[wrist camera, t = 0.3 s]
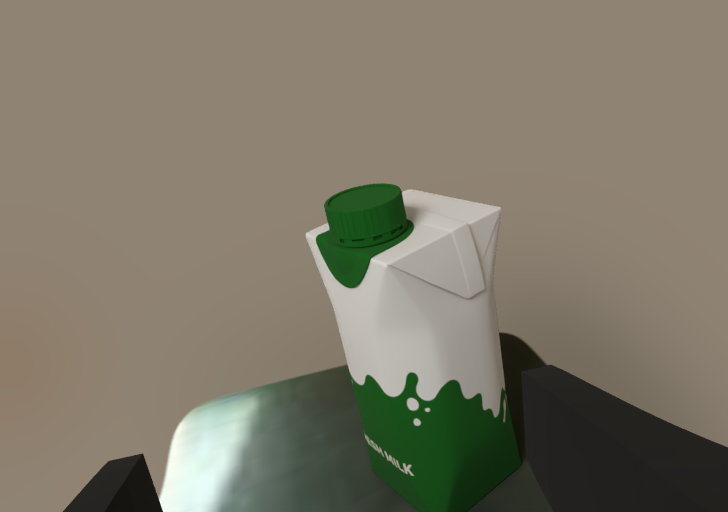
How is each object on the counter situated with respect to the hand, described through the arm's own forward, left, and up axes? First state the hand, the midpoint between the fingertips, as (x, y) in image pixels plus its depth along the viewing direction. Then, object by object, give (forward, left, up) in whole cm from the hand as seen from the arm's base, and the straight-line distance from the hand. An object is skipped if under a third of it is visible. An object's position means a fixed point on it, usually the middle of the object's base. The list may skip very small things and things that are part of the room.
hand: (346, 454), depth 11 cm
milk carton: (+20, -4, -21) cm, 30 cm away
